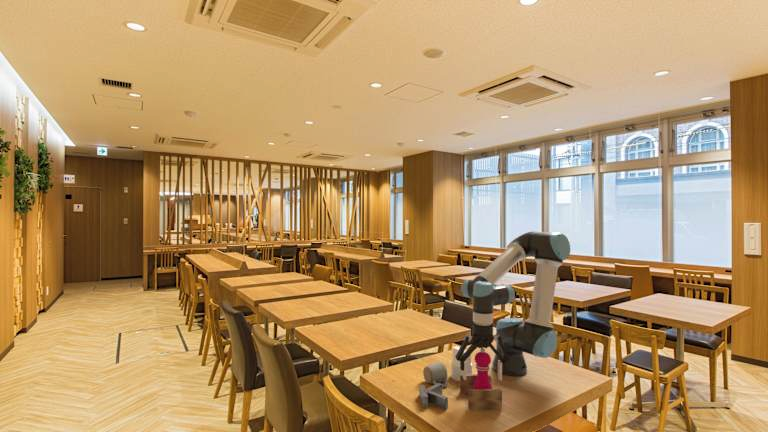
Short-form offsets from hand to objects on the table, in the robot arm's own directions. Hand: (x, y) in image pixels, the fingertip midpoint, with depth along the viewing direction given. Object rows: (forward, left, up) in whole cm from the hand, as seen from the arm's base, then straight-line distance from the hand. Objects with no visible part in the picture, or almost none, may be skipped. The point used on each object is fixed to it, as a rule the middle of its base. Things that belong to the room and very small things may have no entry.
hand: (482, 378), depth 151 cm
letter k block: (+18, 0, -8) cm, 20 cm away
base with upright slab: (+3, -22, -9) cm, 24 cm away
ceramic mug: (+14, -16, -9) cm, 23 cm away
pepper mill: (0, 0, -9) cm, 9 cm away
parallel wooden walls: (+1, 0, -8) cm, 8 cm away
